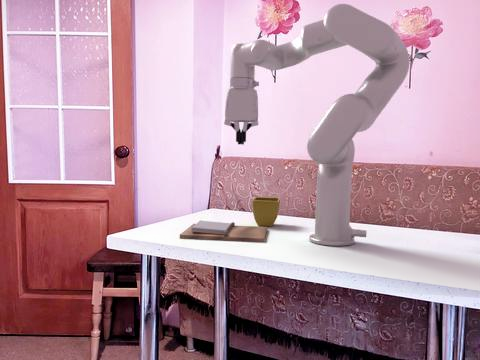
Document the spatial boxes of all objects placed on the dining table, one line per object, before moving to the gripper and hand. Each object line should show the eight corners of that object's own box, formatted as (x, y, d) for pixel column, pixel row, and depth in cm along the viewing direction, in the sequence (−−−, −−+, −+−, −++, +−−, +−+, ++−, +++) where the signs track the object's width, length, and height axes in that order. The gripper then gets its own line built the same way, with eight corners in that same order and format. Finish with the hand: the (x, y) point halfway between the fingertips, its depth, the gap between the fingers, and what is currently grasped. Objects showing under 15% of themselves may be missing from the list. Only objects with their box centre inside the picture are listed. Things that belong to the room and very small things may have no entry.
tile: (200, 220, 139) (199, 224, 139) (191, 227, 127) (191, 231, 127) (231, 223, 138) (230, 227, 138) (225, 230, 126) (225, 234, 126)
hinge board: (267, 230, 140) (267, 223, 139) (263, 242, 122) (263, 234, 122) (193, 226, 142) (193, 220, 142) (179, 238, 125) (179, 230, 124)
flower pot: (277, 228, 144) (278, 200, 143) (251, 226, 145) (252, 199, 144) (279, 223, 152) (280, 197, 152) (254, 222, 154) (255, 196, 153)
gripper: (266, 87, 139) (265, 145, 140) (220, 86, 141) (219, 144, 142) (265, 83, 132) (263, 144, 133) (216, 83, 133) (215, 143, 135)
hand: (240, 144), depth 138 cm, fingers closed
